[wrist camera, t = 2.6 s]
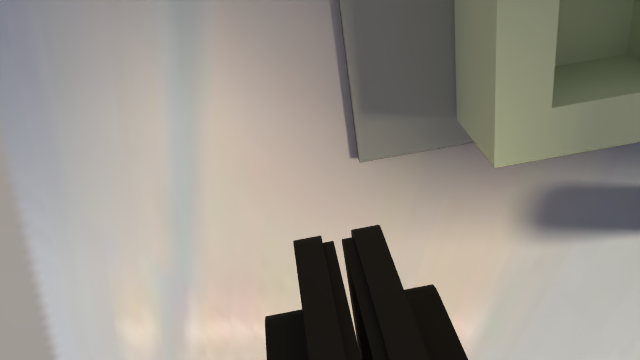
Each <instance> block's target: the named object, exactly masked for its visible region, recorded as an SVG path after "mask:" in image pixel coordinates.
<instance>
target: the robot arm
mask: <svg viewBox="0 0 640 360" xmlns="http://www.w3.org/2000/svg"><path fill="white" fill-rule="evenodd" d="M351 234H352V238H346V239H342V245H343V251H344V258H345V264H346V271H347V278H348V284H349V291H350V297H351V304H352V310H353V317H354V323H355V330H356V335H355V331H354V326H353V322H352V318H351V314H350V309H349V305H348V301H347V297H346V293H345V288H344V284H343V280H342V276H341V271H340V267H339V263H338V259H337V254H336V250H335V246H334V242H333V241H331V242H325V243H322V238H321V236H316V237H311V238H306V239H300V240H295V241H293V242H294V250H295V258H296V265H297V273H298V280H299V288H300V295H301V303H302V310H297V311H292V312H287V313H282V314H276V315H271V316H266V318H265V331H266V351H267V360H468V358H467V356H466V354H465V352H464V349H463V347H462V345H461V343H460V340H459V338H458V336H457V334H456V332H455V329H454V327H453V325H452V323H451V320H450V318H449V316H448V314H447V311H446V309H445V307H444V305H443V302H442V300H441V298H440V296H439V293H438V292H437V290H436V288H435V286H434V285H427V286H422V287H417V288H412V289H407V290H404V289H403V287H402V284H401V281H400V278H399V276H398V273H397V270H396V268H395V265H394V262H393V260H392V257H391V254H390V251H389V249H388V246H387V243H386V241H385V238H384V235H383V233H382V230H381V227H380V226H379V225H375V226H370V227H364V228H359V229H354V230H351ZM356 336H357V339H356ZM357 342H358V343H357ZM358 347H359V348H358Z"/></svg>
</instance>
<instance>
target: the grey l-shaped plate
mask: <svg viewBox="0 0 640 360" xmlns="http://www.w3.org/2000/svg"><path fill="white" fill-rule="evenodd" d="M339 4H340V12H341V20H342V28H343V37H344V45H345V53H346V61H347V69H348V77H349V85H350V93H351V102H352V110H353V118H354V126H355V134H356V142H357V150H358V159H359V162H365V161H371V160H377V159H382V158H388V157H394V156H399V155H405V154H411V153H416V152H422V151H428V150H433V149H439V148H445V147H450V146H456V145H461V144H467V143H473V142H474V141H473V140H472V139H471V137H470V136H469V135H468V133H467V132H466V131H465V129H464V128H463V127H462V126H461V124H460V123H459V122H458V120H457V107H456V60H455V12H454V0H339Z"/></svg>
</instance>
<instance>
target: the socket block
mask: <svg viewBox="0 0 640 360" xmlns="http://www.w3.org/2000/svg"><path fill="white" fill-rule="evenodd" d="M454 12H455V60H456V107H457V120H458V122H459V123H460V124H461V126H462V127H463V128H464V129H465V131H466V132H467V133H468V135H469V136H470V137H471V139H472V140H473V141H474V142H475V144H476V145H477V146H478V148H479V149H480V150H481V152H482V153H483V154H484V155H485V157H486V158H487V159H488V161H489V162H490V163H491V165H492V166H493V167H494V168H497V167H503V166H508V165H514V164H520V163H525V162H531V161H537V160H542V159H548V158H553V157H559V156H565V155H570V154H576V153H581V152H587V151H593V150H598V149H604V148H609V147H615V146H621V145H626V144H632V143H638V142H640V0H454Z"/></svg>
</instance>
